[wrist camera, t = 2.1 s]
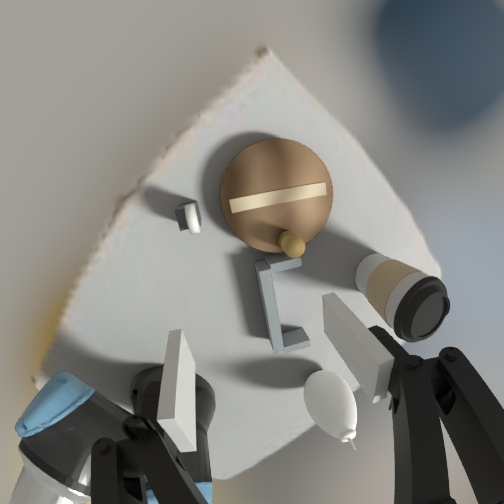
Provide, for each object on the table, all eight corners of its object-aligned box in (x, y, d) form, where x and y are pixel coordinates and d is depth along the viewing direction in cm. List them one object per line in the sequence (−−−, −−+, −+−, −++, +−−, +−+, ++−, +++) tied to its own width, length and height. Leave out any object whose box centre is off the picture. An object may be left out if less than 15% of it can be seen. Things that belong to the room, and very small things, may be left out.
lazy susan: (232, 258, 36) (237, 274, 31) (210, 150, 31) (210, 147, 26) (332, 235, 37) (350, 247, 32) (318, 133, 33) (336, 129, 28)
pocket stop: (269, 342, 42) (274, 356, 38) (253, 258, 37) (258, 267, 34) (303, 333, 42) (310, 346, 39) (292, 249, 38) (301, 257, 34)
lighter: (183, 226, 34) (178, 240, 28) (178, 202, 33) (171, 210, 27) (202, 222, 35) (201, 235, 28) (196, 197, 33) (194, 205, 27)
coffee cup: (354, 308, 43) (405, 362, 28) (342, 261, 39) (402, 309, 25) (397, 283, 43) (454, 326, 29) (389, 237, 40) (456, 271, 26)
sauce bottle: (297, 364, 44) (334, 446, 27) (338, 355, 45) (385, 427, 28) (295, 393, 47) (326, 469, 30) (333, 384, 48) (372, 453, 31)
